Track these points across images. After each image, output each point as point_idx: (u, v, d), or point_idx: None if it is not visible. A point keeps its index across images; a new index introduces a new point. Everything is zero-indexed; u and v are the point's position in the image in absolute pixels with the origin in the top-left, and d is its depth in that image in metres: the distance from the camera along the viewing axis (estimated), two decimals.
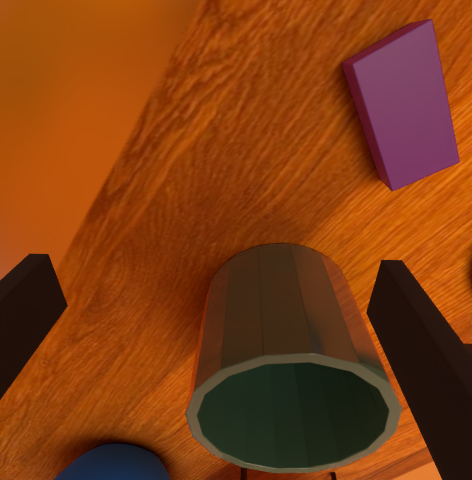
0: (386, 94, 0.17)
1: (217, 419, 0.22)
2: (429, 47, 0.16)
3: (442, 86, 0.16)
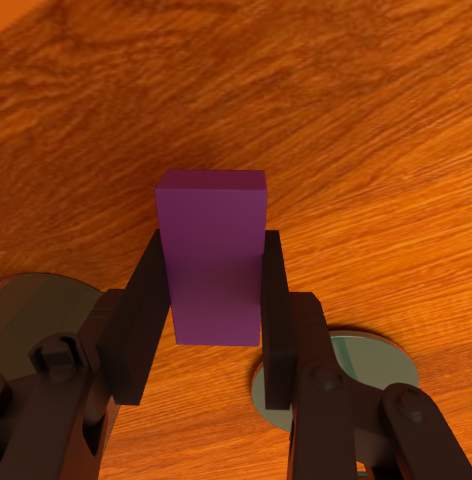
0: (191, 243, 0.12)
1: None
2: (255, 219, 0.11)
3: (259, 267, 0.12)
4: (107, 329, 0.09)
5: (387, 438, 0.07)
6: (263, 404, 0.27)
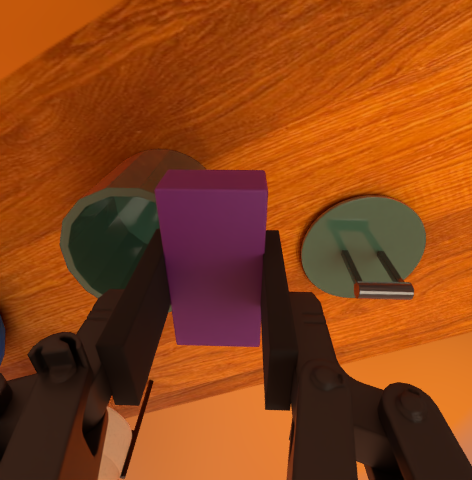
0: (191, 244, 0.12)
1: (83, 249, 0.27)
2: (255, 220, 0.11)
3: (260, 267, 0.12)
4: (107, 329, 0.09)
5: (387, 438, 0.07)
6: (309, 264, 0.36)
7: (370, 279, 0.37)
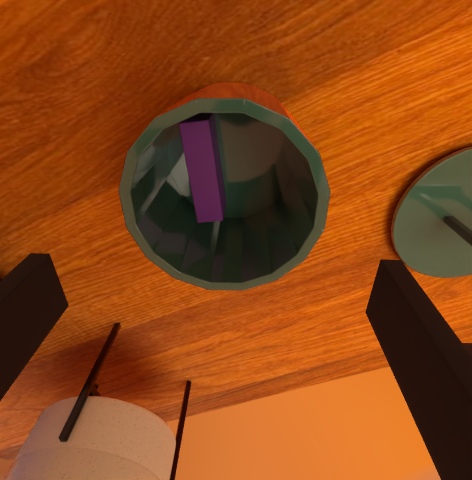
0: None
1: (143, 203, 0.21)
2: None
3: (187, 167, 0.24)
4: None
5: None
6: (402, 234, 0.30)
7: None
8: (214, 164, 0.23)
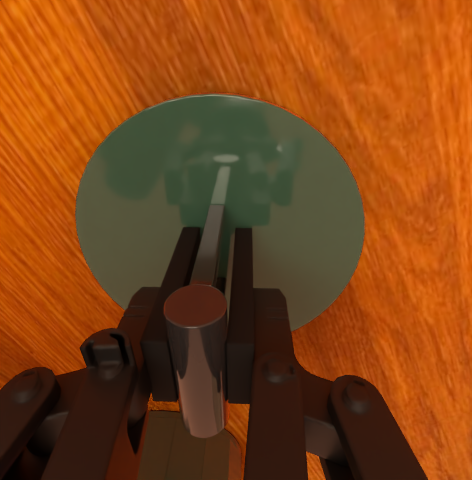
0: None
1: None
2: None
3: None
4: (149, 326, 0.09)
5: (333, 429, 0.07)
6: None
7: (302, 217, 0.14)
8: None
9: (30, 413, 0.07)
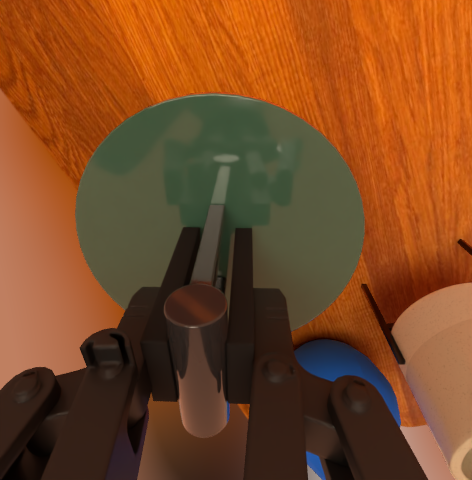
0: None
1: None
2: None
3: None
4: (149, 326, 0.09)
5: (333, 429, 0.07)
6: None
7: (302, 217, 0.14)
8: None
9: (30, 413, 0.07)
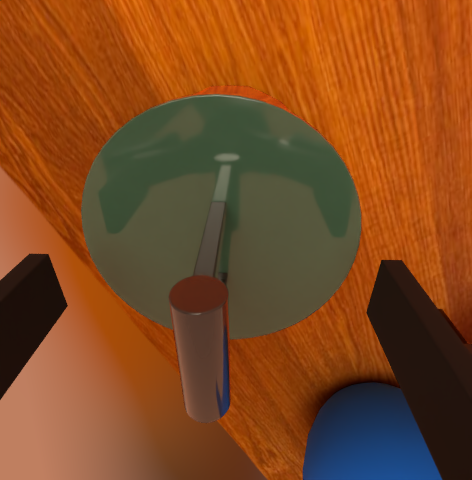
0: None
1: None
2: None
3: None
4: None
5: None
6: (252, 327, 0.18)
7: (300, 213, 0.14)
8: None
9: None
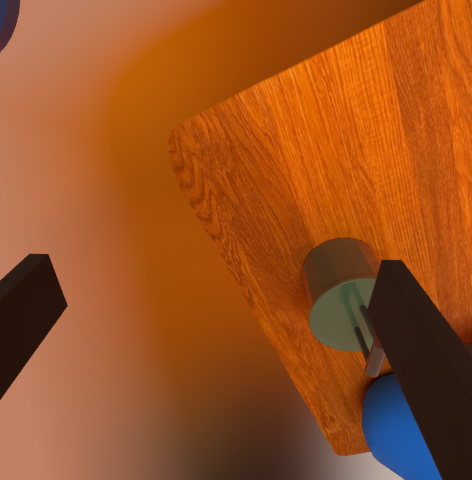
0: None
1: None
2: None
3: None
4: None
5: None
6: None
7: None
8: None
9: None
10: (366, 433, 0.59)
